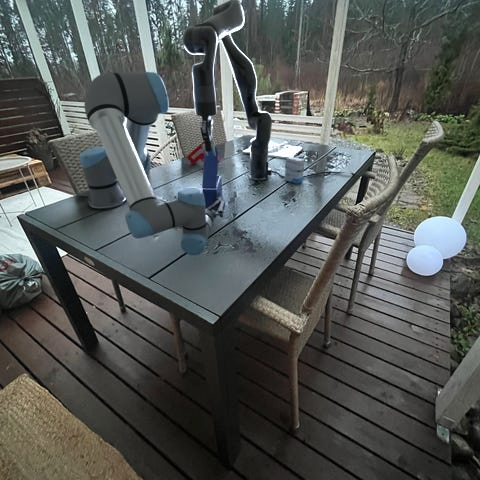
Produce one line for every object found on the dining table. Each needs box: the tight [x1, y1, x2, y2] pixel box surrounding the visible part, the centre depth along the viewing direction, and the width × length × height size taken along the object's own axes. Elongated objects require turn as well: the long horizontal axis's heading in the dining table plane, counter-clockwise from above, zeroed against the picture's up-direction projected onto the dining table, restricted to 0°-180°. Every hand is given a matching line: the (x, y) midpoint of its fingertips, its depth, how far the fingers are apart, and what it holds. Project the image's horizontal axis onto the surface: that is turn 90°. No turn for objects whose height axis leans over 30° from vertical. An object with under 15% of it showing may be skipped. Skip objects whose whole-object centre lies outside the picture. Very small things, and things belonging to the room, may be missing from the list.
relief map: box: [242, 138, 304, 160], centre depth 192 cm, size 27×35×5 cm
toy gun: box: [186, 141, 221, 165], centre depth 167 cm, size 18×4×15 cm
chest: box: [202, 174, 223, 212], centre depth 117 cm, size 16×6×11 cm, turn 177°
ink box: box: [284, 156, 306, 185], centre depth 140 cm, size 8×5×12 cm, turn 47°
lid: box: [201, 143, 220, 189], centre depth 105 cm, size 17×6×9 cm
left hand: (211, 195), depth 113 cm, fingers closed on chest, 6 cm apart
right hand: (208, 150), depth 103 cm, fingers closed
